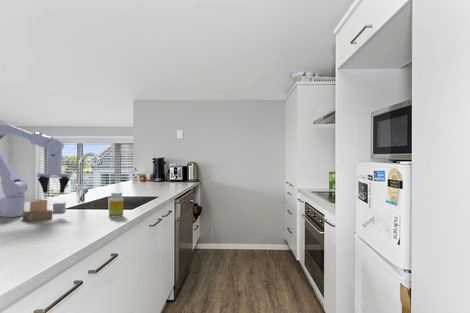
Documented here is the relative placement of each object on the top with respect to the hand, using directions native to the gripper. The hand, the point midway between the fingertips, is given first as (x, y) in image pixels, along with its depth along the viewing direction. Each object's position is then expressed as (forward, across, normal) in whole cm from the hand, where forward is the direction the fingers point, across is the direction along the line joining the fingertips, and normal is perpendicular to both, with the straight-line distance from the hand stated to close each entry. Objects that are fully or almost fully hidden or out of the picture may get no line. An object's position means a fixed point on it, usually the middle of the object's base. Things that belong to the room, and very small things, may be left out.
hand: (53, 192), depth 135 cm
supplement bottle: (+11, +30, -3) cm, 32 cm away
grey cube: (+10, -1, +8) cm, 13 cm away
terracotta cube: (+7, -1, -10) cm, 12 cm away
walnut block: (+11, -1, -10) cm, 15 cm away
